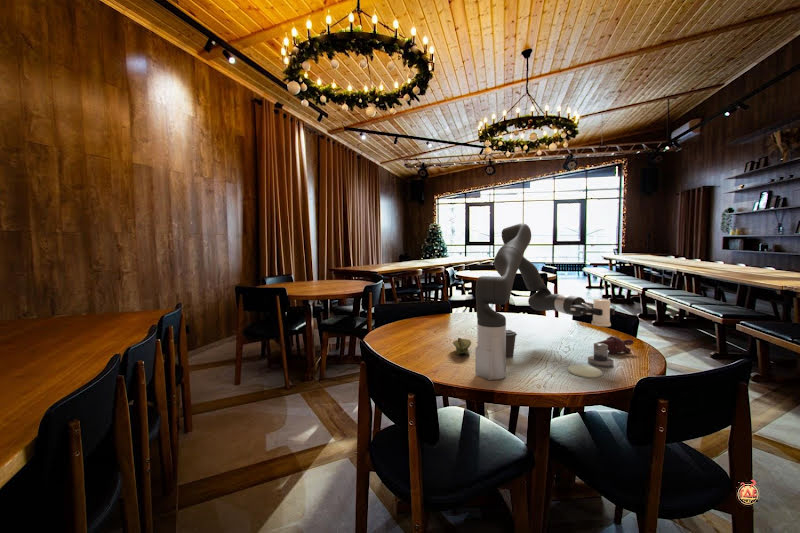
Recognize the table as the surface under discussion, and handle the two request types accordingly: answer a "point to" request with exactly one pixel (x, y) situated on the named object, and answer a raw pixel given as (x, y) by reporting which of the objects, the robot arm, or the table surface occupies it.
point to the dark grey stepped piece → (600, 356)
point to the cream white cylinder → (605, 318)
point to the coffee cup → (510, 343)
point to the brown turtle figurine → (617, 344)
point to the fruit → (462, 346)
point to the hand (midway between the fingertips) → (607, 312)
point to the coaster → (584, 371)
